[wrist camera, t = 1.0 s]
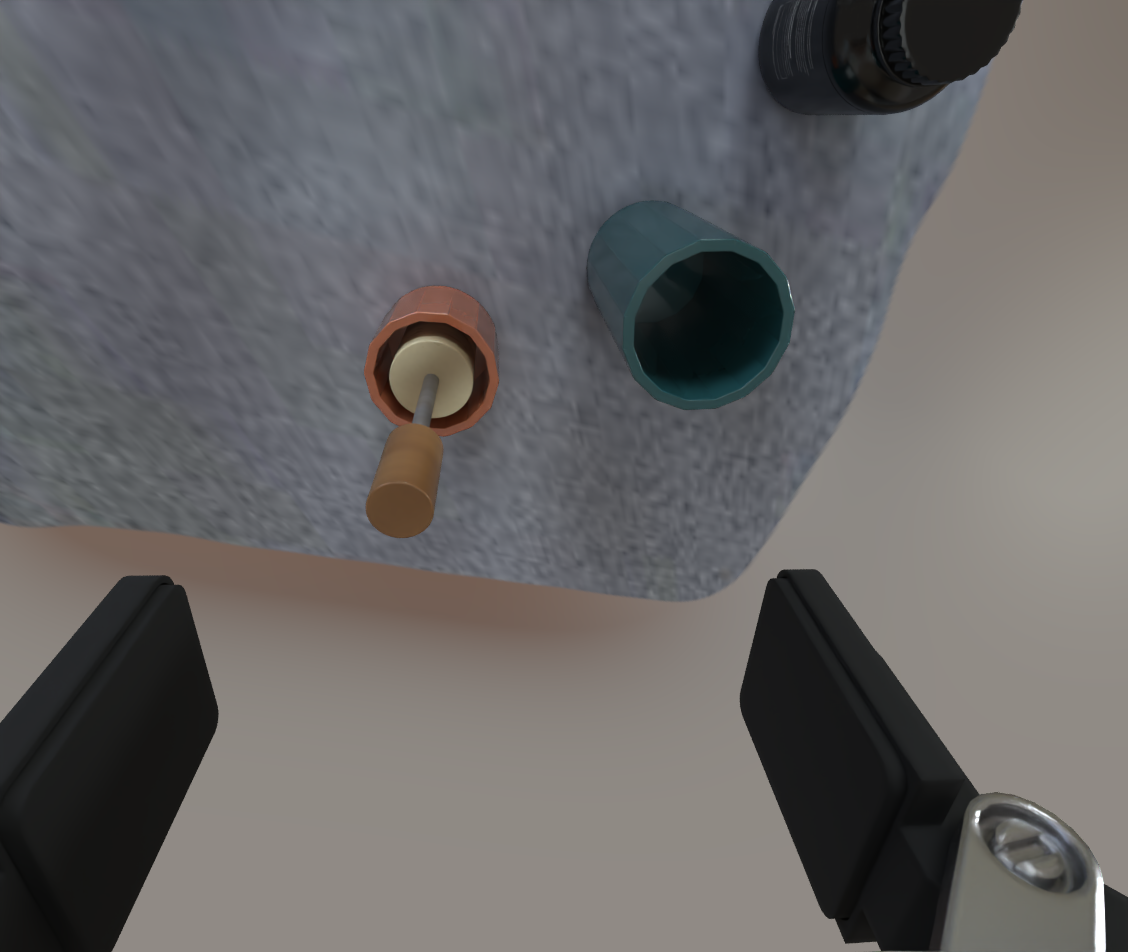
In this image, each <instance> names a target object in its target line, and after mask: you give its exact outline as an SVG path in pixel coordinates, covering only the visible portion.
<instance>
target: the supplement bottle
mask: <svg viewBox="0 0 1128 952" xmlns="http://www.w3.org/2000/svg"><path fill="white" fill-rule="evenodd" d="M1022 2H1023V0H773V1H772V3H771V5H770V7H769V9H768V11H767V13H766V16H765V19H764V21H763V25H762V28H761V33H760V39H759V64H760V69H761V73H762V77H763V79H764V82H765V84H766V86H767V88H768V90H769V91H770V93H771V94H772V96H773V97H774V98H775V99H776V100H777V101H778V102H779V103H780V104H781V105H783V106H784V107H785V108H787V109H789V110H791V111H793V112H796V113H800V114H805V115H886V114H894V113H900V112H904V111H907V110H910V109H913V108H915V107H918V106H920V105H922V104H923V103H925V102H927V101H929V100H930V99H932V98H933V97H935V96H936V95H937V94H938V93H940V92H941V91H942V90H943V89H944V88H945V87H946V86H947V85H949V84H950V83H952V82H954V81H960V80H963V79H965V78H966V77H967V76H968V75H973V74H975V73H976V72H977V71H978V70H979V69H980V68H981V67H984V66H986V65H987V64H988V63H989V62H990V60H991V59H992V58H993V57H995V56H996V55H998V53H999V51H1000V49H1001V47H1002V46H1003V45H1004V44H1005V43H1006V42H1007V40H1008V37H1009V34H1010V33H1011V32H1012V31H1013V29H1014V28H1015V22H1016V20H1017V18H1018V17H1019V15H1020V9H1021V4H1022Z"/></svg>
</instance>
